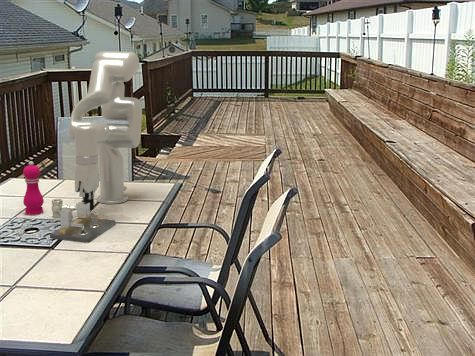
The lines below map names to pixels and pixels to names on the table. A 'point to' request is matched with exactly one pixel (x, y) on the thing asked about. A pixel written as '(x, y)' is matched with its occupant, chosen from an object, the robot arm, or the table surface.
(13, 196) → the table surface
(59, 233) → the bolt plate
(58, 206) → the valve
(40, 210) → the magenta pepper mill
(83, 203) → the block
